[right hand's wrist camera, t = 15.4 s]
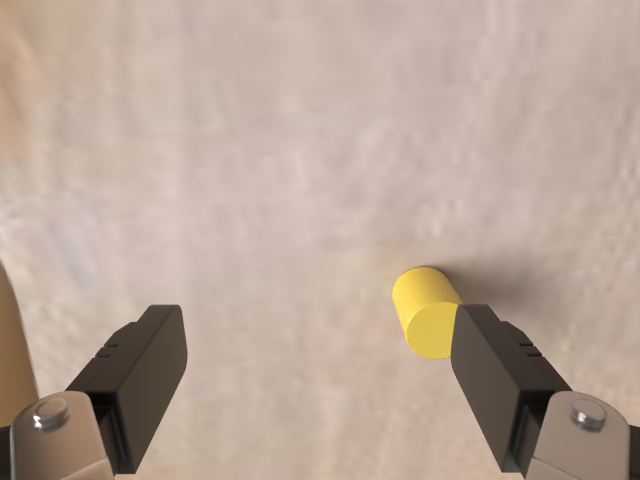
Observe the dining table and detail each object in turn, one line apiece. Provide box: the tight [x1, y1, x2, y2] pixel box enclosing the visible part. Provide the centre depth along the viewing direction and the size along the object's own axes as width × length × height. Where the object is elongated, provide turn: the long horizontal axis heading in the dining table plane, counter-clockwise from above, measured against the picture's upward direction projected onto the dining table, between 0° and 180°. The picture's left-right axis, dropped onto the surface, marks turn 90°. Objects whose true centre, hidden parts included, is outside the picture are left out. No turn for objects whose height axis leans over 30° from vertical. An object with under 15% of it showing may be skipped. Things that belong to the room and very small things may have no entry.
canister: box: [392, 267, 464, 359], centre depth 23 cm, size 4×4×4 cm
